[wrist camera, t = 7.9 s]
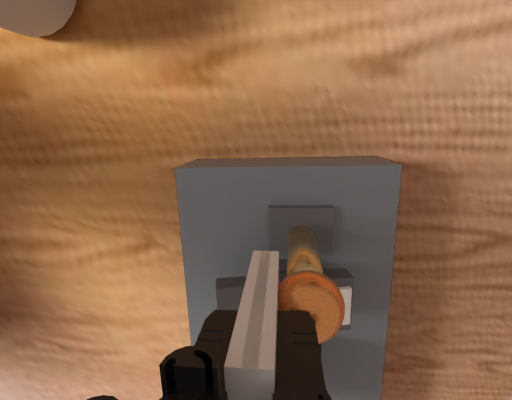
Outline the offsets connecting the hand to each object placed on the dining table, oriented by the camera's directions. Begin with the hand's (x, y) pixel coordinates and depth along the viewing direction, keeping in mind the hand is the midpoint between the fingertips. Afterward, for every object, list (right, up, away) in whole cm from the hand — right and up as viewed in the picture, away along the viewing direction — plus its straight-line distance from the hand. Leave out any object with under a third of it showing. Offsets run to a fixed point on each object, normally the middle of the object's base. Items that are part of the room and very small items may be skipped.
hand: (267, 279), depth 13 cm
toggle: (+2, +1, +5) cm, 5 cm away
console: (+2, -5, +13) cm, 14 cm away
